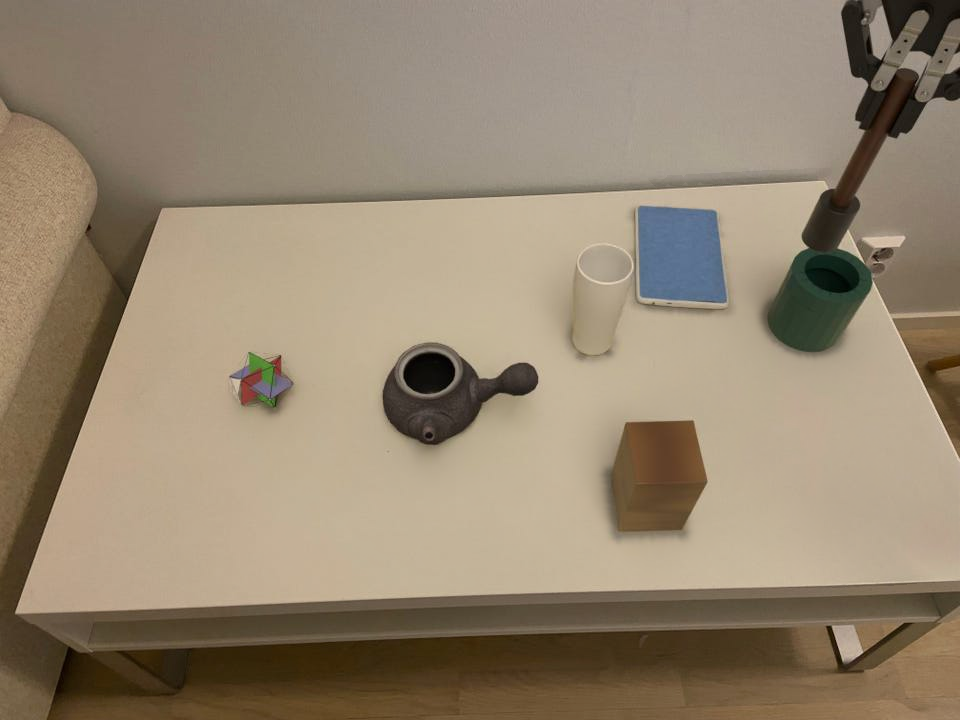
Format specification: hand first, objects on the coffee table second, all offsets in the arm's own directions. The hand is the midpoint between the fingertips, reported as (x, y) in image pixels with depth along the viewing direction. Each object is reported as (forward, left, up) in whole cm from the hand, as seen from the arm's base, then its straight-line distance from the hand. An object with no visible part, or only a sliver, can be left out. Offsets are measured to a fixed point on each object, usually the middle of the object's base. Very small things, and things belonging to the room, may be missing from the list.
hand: (879, 127), depth 59 cm
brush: (0, 0, -13) cm, 13 cm away
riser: (+6, +22, -38) cm, 44 cm away
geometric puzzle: (+53, +31, -38) cm, 72 cm away
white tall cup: (+20, +4, -38) cm, 43 cm away
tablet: (+15, -16, -38) cm, 44 cm away
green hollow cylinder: (-4, -12, -38) cm, 40 cm away
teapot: (+30, +22, -38) cm, 53 cm away
